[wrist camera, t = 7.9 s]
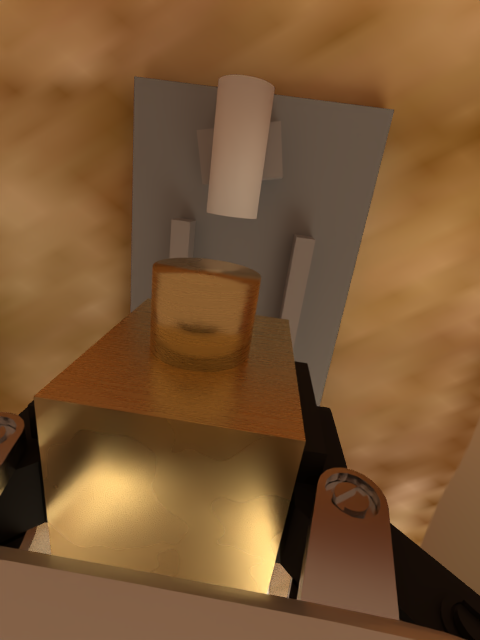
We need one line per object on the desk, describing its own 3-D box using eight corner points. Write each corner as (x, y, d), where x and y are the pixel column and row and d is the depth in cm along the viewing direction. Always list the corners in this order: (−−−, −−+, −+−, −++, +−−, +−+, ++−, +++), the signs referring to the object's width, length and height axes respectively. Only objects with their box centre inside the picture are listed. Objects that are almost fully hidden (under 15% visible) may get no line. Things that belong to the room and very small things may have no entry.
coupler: (258, 473, 13) (249, 660, 8) (142, 453, 13) (59, 624, 8) (300, 261, 10) (332, 336, 5) (149, 239, 10) (20, 288, 5)
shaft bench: (303, 449, 25) (312, 509, 20) (134, 421, 26) (103, 474, 21) (386, 115, 17) (431, 83, 13) (142, 83, 18) (95, 41, 13)
